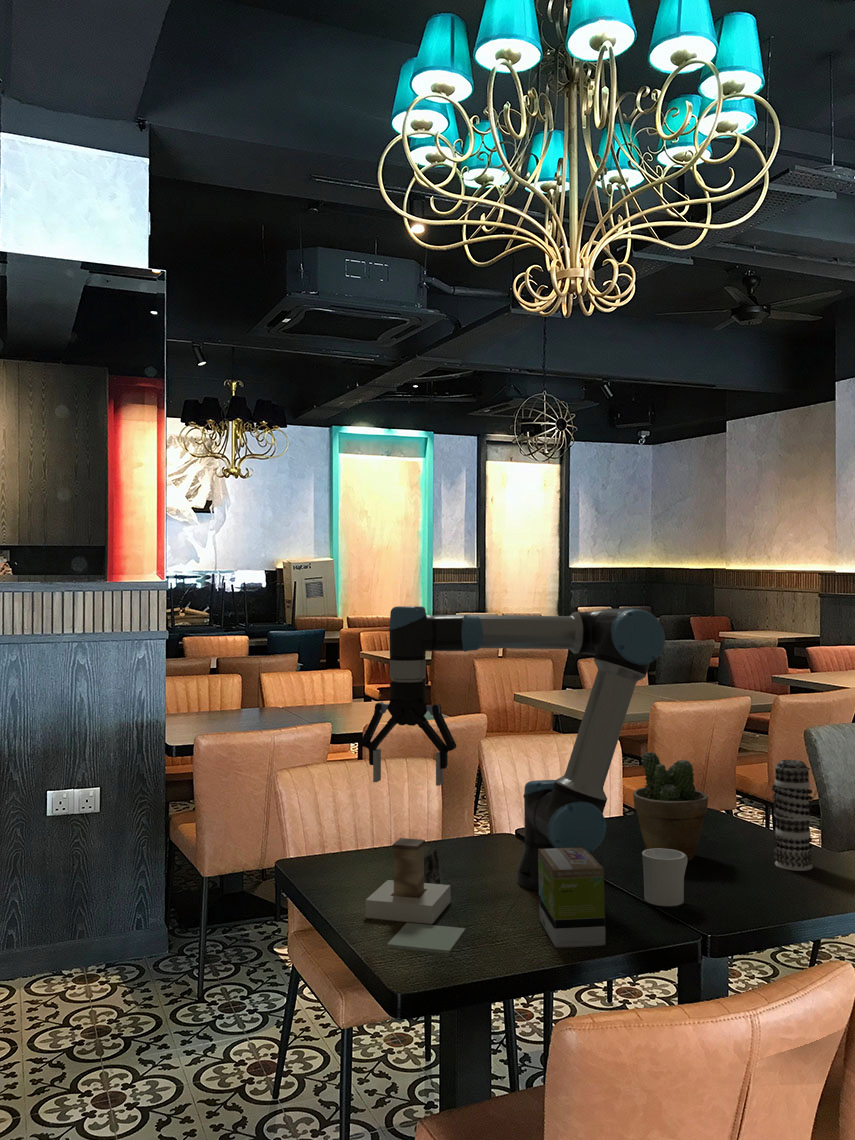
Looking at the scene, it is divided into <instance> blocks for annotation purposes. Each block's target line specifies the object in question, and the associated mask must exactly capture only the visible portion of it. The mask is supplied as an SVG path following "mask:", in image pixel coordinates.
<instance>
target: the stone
mask: <svg viewBox="0 0 855 1140" xmlns="http://www.w3.org/2000/svg"><path fill="white" fill-rule="evenodd" d="M442 873H443V872H442V868H441V864H440V859H439V855H438V849H437V848H436V847H435V848H434V847H430V846H426V845H424V883H430V884H442V885H443V874H442Z"/></svg>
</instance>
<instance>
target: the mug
mask: <svg viewBox="0 0 855 1140" xmlns="http://www.w3.org/2000/svg"><path fill="white" fill-rule="evenodd" d="M641 856H642V865H643V888H644V895H643V896H644V903H645V902H646V903H647V904H646V905H648V906H650V907H652V906H655V907H654V908H656V907H662V908H674V909H676V908H675V907H679V908H681V907H683V905H684V902H685V901H684V900H685V898H684V897H685V895H684V894H685V893H684V892H685V889H684V887H685V886H684V885H685V874H686V869H687V865H688V862H689V861H688V858H687V855H685V854H684V853H682V852H680V851H677V850H672V849H662V848H654V849H644V850H643V851H642V852H641ZM680 906H681V907H680ZM662 908H661V909H662Z"/></svg>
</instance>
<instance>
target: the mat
mask: <svg viewBox="0 0 855 1140" xmlns="http://www.w3.org/2000/svg"><path fill="white" fill-rule="evenodd" d="M466 929H467V928H466V927H455V926H445V925H444V926H443V925H433V924H426V923H416V922H406V923H405V924H404V925H403V926H402V927H401V929H400V930H398V932H397V933H396V934H395V935H394V936H393V937H392V938H391V939H390V940H389V941H388V942H387V944H386V947H387V949H388V948H389V949H397V950H398V949H400V950H408V951H420V952H428V953H437V954H446V955H450V954H451V952H452V951H451V950H452V949H453V948H454V946H455V944H456V943H457V942H458V940H459V939H460V937H462V935H463V934H464V932H465V930H466Z"/></svg>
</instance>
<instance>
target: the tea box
mask: <svg viewBox="0 0 855 1140" xmlns="http://www.w3.org/2000/svg"><path fill="white" fill-rule="evenodd" d="M538 875H539V891H538V901H539V903H538V908H539V910H538V911H539V912H538V913H539V914H538V915H539V920H540V923H541V924H542V926H543V929H544V931H545V932H546V933H547V935H548V937H549V939H550V941H551V942H552V944H553V946H554V947H555V948H578V947H580V948H581V947H599V946H606V907H605V906H606V903H605V900H606V899H605V893H606V892H605V868H604V867H603V866H602V865H601V864H600V863H599V861H598V860H597V859H596V858H595V857H593V855H592V854H591V852H590V853H589V852H588V851H587V850H586V849H585V847H572V848H552V849H538Z"/></svg>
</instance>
